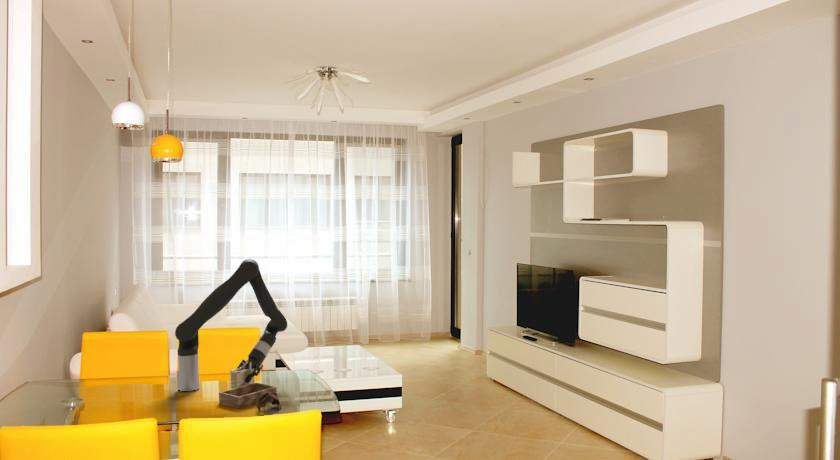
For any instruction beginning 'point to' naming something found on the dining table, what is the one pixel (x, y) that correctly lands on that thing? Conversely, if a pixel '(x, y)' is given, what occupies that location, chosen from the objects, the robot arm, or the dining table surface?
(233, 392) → the walnut crate
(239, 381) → the birch crate
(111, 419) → the dining table surface
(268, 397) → the pottery mug
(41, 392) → the dining table surface
